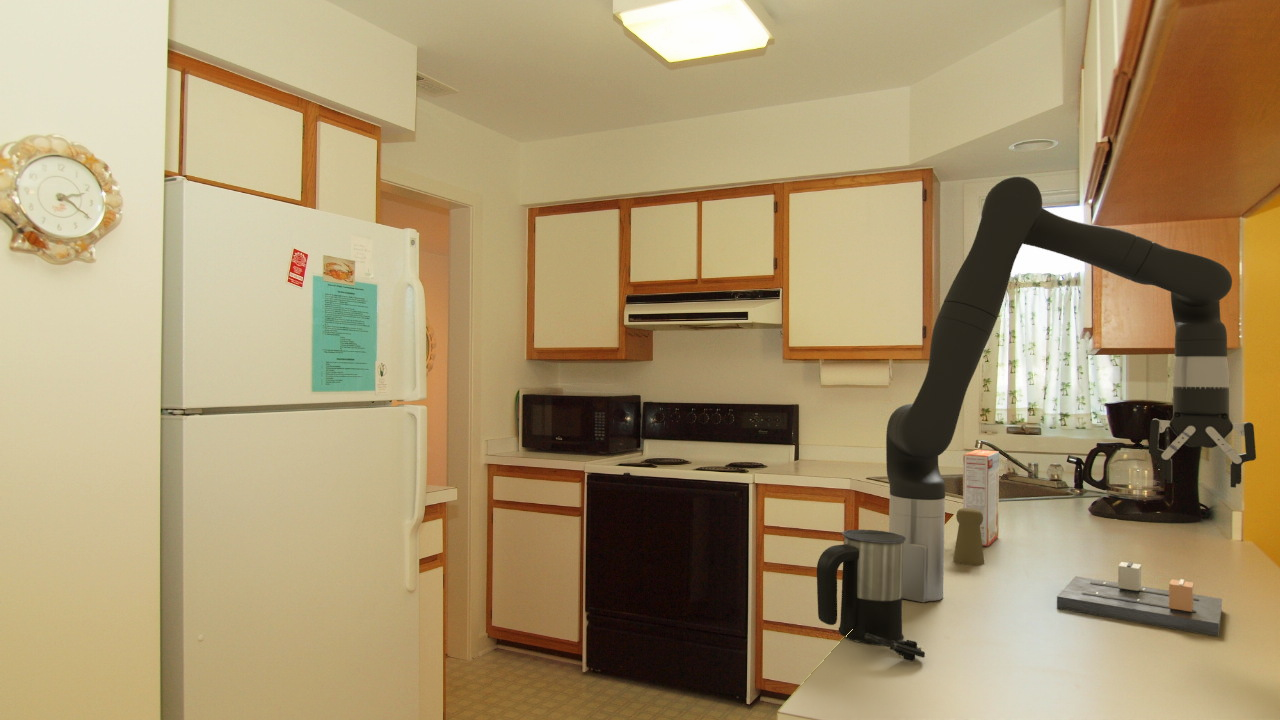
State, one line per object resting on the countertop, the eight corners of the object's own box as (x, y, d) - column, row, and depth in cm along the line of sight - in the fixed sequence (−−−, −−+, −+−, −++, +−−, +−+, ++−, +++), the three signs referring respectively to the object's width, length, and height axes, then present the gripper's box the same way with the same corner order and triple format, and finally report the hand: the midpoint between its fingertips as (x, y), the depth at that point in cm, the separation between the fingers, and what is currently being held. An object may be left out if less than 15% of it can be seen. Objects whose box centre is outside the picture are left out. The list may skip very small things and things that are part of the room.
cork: (987, 565, 165) (988, 511, 166) (956, 563, 167) (957, 510, 167) (981, 559, 171) (982, 507, 171) (950, 557, 172) (951, 505, 173)
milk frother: (862, 622, 125) (864, 526, 125) (959, 650, 113) (961, 544, 114) (805, 640, 116) (807, 536, 116) (905, 673, 104) (907, 557, 104)
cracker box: (972, 534, 199) (974, 449, 199) (999, 537, 196) (1000, 450, 196) (960, 543, 187) (962, 453, 187) (988, 547, 184) (990, 455, 184)
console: (1218, 636, 122) (1218, 622, 122) (1056, 608, 136) (1057, 595, 136) (1221, 610, 137) (1221, 598, 137) (1075, 587, 150) (1075, 575, 150)
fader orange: (1191, 611, 127) (1192, 585, 127) (1169, 608, 129) (1169, 582, 129) (1193, 606, 130) (1193, 581, 130) (1170, 602, 132) (1171, 577, 132)
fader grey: (1138, 590, 139) (1138, 567, 139) (1118, 587, 141) (1118, 564, 141) (1140, 586, 142) (1141, 563, 142) (1121, 583, 144) (1121, 560, 144)
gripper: (1147, 384, 133) (1147, 483, 133) (1256, 385, 125) (1256, 491, 125) (1150, 384, 139) (1150, 478, 139) (1254, 385, 131) (1254, 486, 131)
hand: (1200, 484), depth 132 cm, fingers open, 8 cm apart
